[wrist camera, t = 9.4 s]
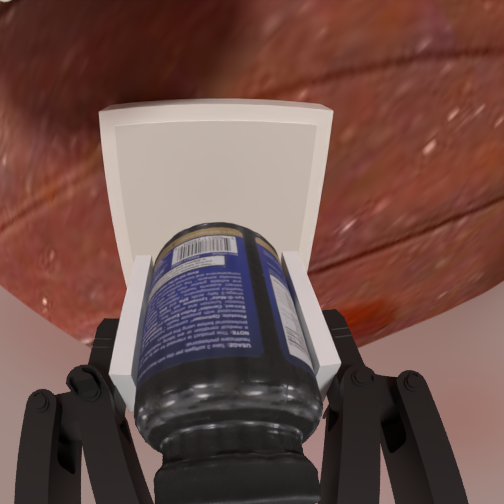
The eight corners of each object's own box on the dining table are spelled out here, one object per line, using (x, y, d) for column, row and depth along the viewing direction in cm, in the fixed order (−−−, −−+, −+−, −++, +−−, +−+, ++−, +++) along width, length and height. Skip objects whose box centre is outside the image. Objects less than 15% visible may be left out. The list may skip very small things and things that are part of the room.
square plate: (110, 104, 18) (97, 112, 16) (320, 104, 20) (334, 111, 17) (133, 273, 26) (128, 294, 24) (296, 269, 28) (304, 289, 25)
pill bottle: (143, 299, 16) (120, 515, 7) (174, 198, 13) (138, 489, 4) (250, 324, 18) (282, 519, 9) (302, 239, 15) (393, 475, 6)
